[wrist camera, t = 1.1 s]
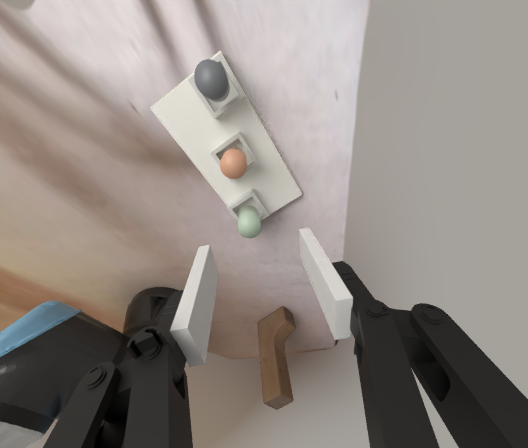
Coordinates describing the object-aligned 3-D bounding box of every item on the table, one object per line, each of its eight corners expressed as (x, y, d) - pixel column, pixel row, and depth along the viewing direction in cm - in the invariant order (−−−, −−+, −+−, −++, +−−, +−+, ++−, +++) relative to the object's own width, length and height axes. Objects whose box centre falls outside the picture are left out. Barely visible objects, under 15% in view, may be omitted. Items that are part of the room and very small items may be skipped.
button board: (245, 226, 42) (246, 234, 39) (153, 108, 31) (144, 107, 28) (300, 192, 40) (305, 198, 37) (221, 53, 29) (218, 45, 26)
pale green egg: (246, 227, 37) (246, 241, 33) (234, 212, 36) (233, 225, 31) (262, 217, 36) (265, 230, 32) (251, 201, 35) (252, 213, 30)
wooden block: (282, 305, 53) (299, 384, 37) (292, 313, 55) (313, 392, 39) (256, 322, 55) (262, 404, 39) (267, 329, 57) (276, 410, 41)
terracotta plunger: (232, 175, 33) (230, 184, 28) (218, 156, 31) (214, 161, 27) (250, 163, 32) (252, 169, 28) (237, 142, 30) (236, 145, 26)
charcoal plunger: (213, 107, 28) (208, 105, 24) (196, 81, 27) (187, 73, 22) (235, 91, 28) (233, 85, 23) (218, 63, 26) (213, 51, 22)
